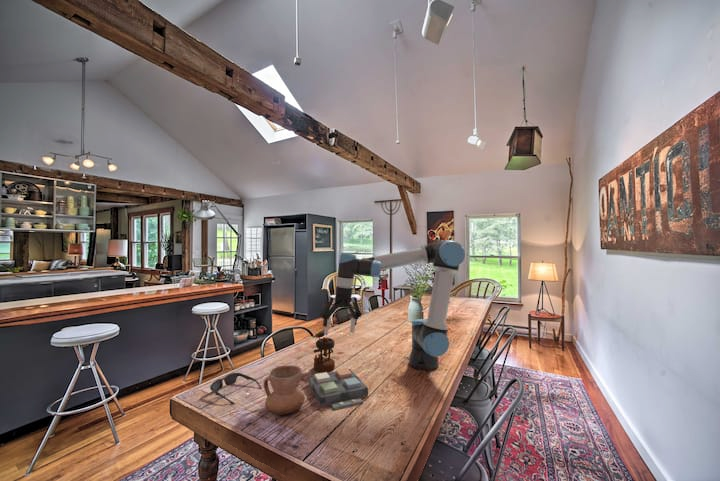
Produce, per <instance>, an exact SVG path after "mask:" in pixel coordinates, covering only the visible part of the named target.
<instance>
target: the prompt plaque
mask: <svg viewBox="0 0 720 481" xmlns="http://www.w3.org/2000/svg"><path fill="white" fill-rule="evenodd" d="M360 404H364V401H363V399H362V398H355V399H351V400H346V401H342V402H338V403H333V404H331V405H330V406H331V409H332V410H333V411H336V410H340V409H343V408H347V407H351V406H357V405H360Z"/></svg>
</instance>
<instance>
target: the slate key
mask: <svg viewBox="0 0 720 481" xmlns="http://www.w3.org/2000/svg"><path fill="white" fill-rule="evenodd" d="M344 385H345V386H346V388H347V389H352V388H357V387H361V383H360V381H359V380H358V379H357V378H356V377H354V378H349V379H344Z"/></svg>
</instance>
